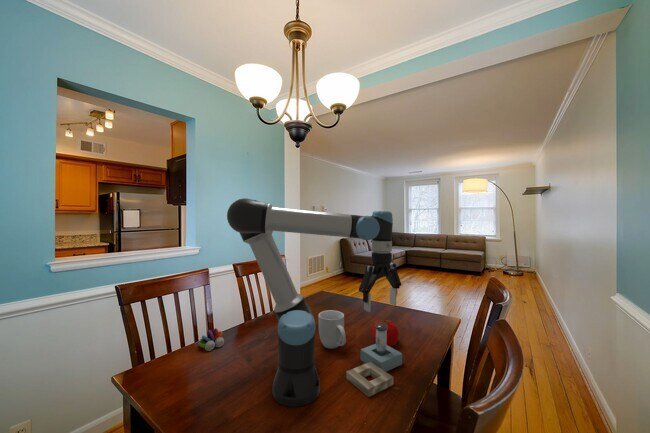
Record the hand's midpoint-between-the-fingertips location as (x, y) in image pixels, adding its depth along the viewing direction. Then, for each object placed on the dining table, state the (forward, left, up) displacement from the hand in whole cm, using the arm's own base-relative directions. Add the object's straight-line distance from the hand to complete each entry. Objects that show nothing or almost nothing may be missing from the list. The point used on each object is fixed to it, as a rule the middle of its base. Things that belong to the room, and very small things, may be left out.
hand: (380, 307), depth 101 cm
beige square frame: (-12, -7, -21) cm, 25 cm away
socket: (0, 0, -21) cm, 21 cm away
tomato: (+12, +9, -21) cm, 26 cm away
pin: (0, 0, -21) cm, 21 cm away
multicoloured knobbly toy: (-51, +47, -21) cm, 73 cm away
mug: (-8, +20, -21) cm, 30 cm away
